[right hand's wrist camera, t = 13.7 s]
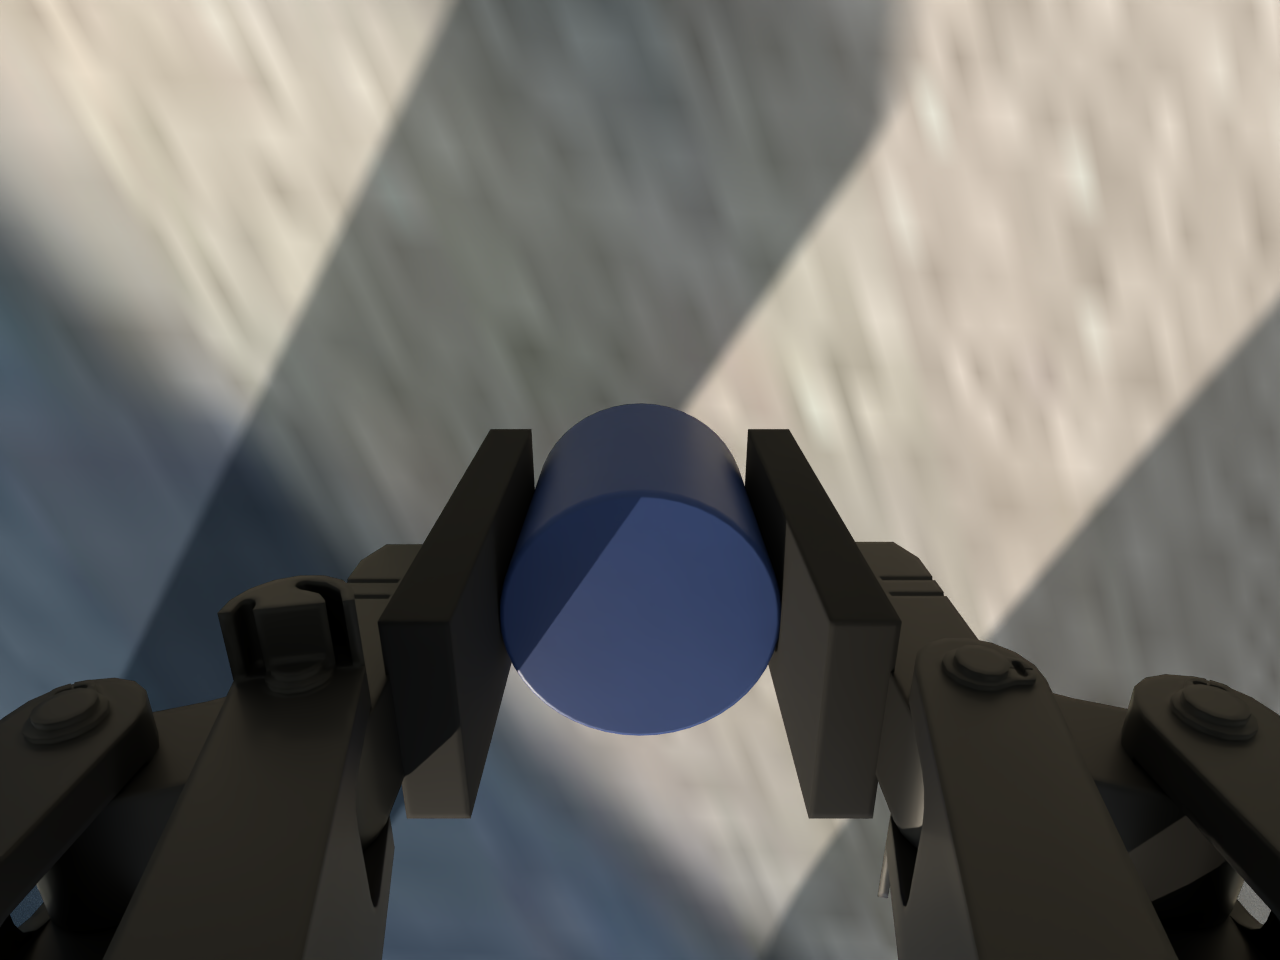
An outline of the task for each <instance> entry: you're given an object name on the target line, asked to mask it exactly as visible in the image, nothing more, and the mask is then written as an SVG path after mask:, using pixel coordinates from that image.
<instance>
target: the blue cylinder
mask: <svg viewBox="0 0 1280 960" xmlns="http://www.w3.org/2000/svg"><path fill="white" fill-rule="evenodd" d="M499 619H500V627H501V634H502V638H503V641H504V644H505V648H506V651H507V653H508V655H509V657H510V659H511V661H512V663H513V666H514V667H515V669H516V670H517V672H518V674H519V675H520V677H521V678H522V680H523V681H524V682H525V683H526V684H527V686H528V687H529V688H530V689H531V690H532V692H533V693H534V694H536V695H537V696H538V697H539V698H540V699H541V700H542V701H543V702H544V703H546V704H547V705H548V706H550V707H551V708H553V709H554V710H556V711H557V712H558V713H560V714H562V715H564V716H566V717H567V718H569V719H571V720H573V721H575V722H578V723H580V724H583V725H585V726H588V727H591V728H594V729H598V730H601V731H605V732H610V733H616V734H622V735H639V736H640V735H658V734H664V733H671V732H676V731H680V730H683V729H687V728H691V727H693V726H696V725H698V724H701V723H703V722H706V721H708V720H710V719H712V718H714V717H715V716H717V715H719V714H721V713H722V712H724V711H725V710H727V709H728V708H730V707H731V706H733V705H734V704H735V703H736V702H738V701H739V700H740V699H741V698H742V697H743V696H744V695H746V694H747V692H748V691H749V690H750V689H751V688H752V687H753V686H754V685H755V683H756V682H757V681H758V680H759V678H760V677H761V675H762V674H763V672H764V671H765V669H766V667H767V665H768V663H769V661H770V659H771V657H772V655H773V653H774V650H775V647H776V644H777V641H778V638H779V630H780V622H781V596H780V589H779V586H778V582H777V579H776V576H775V572H774V569H773V567H772V564H771V561H770V558H769V555H768V552H767V549H766V546H765V543H764V541H763V538H762V535H761V532H760V529H759V526H758V523H757V520H756V517H755V515H754V512H753V509H752V506H751V503H750V500H749V497H748V494H747V491H746V489H745V486H744V483H743V480H742V477H741V474H740V471H739V468H738V466H737V464H736V462H735V459H734V457H733V455H732V454H731V452H730V451H729V449H728V448H727V446H726V445H725V443H724V442H723V441H722V440H721V439H720V438H719V436H718V435H717V434H716V433H715V432H713V431H712V430H711V429H710V428H709V427H708V426H707V425H705V424H704V423H702V422H701V421H699V420H698V419H696V418H694V417H692V416H690V415H688V414H686V413H684V412H682V411H679V410H676V409H673V408H670V407H665V406H660V405H655V404H626V405H620V406H615V407H611V408H608V409H605V410H602V411H599V412H597V413H595V414H593V415H590V416H588V417H586V418H585V419H583V420H582V421H580V422H579V423H577V424H576V425H574V426H573V427H572V428H571V429H570V430H568V431H567V432H566V433H565V434H564V435H563V436H562V437H561V439H560V440H559V441H558V442H557V443H556V444H555V446H554V447H553V449H552V450H551V452H550V453H549V455H548V457H547V459H546V461H545V463H544V465H543V468H542V471H541V474H540V477H539V480H538V482H537V485H536V488H535V491H534V494H533V497H532V500H531V503H530V506H529V509H528V512H527V514H526V517H525V520H524V523H523V526H522V529H521V532H520V535H519V538H518V541H517V544H516V546H515V549H514V552H513V555H512V558H511V561H510V564H509V567H508V570H507V573H506V576H505V579H504V582H503V585H502V590H501V596H500V602H499Z"/></svg>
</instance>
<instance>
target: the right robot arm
mask: <svg viewBox="0 0 1280 960" xmlns="http://www.w3.org/2000/svg"><path fill="white" fill-rule="evenodd" d="M745 489H746V491H747V494H748V497H749V500H750V503H751V506H752V509H753V512H754V515H755V517H756V520H757V523H758V526H759V529H760V532H761V535H762V538H763V541H764V543H765V546H766V549H767V552H768V555H769V558H770V561H771V564H772V567H773V569H774V572H775V576H776V579H777V582H778V586H779V589H780V596H781V622H780V630H779V638H778V641H777V644H776V647H775V650H774V653H773V655H772V657H771V659H770V661H769V663H768V665H769V669H770V672H771V676H772V680H773V684H774V688H775V691H776V695H777V699H778V703H779V707H780V710H781V714H782V718H783V722H784V726H785V729H786V733H787V737H788V741H789V745H790V749H791V752H792V756H793V760H794V764H795V768H796V771H797V775H798V779H799V783H800V787H801V790H802V794H803V798H804V802H805V806H806V809H807V813H808V817H809V818H873V812H874V805H875V798H876V792H877V785H878V782H879V784H880V787H881V789H882V792H883V794H884V797H885V799H886V802H887V804H888V807H889V810H890V812H891V815H890V822H889V828H888V834H887V840H886V846H885V853H884V859H883V865H882V871H881V878H880V884H879V891H878V896H879V897H884V898H888V894H889V889H890V890H891V899H892V908H893V916H894V925H895V934H896V943H897V951H898V960H1280V716H1279V715H1278V714H1277V713H1275V712H1274V711H1272V710H1270V709H1269V708H1267V707H1266V706H1264V705H1263V704H1261V703H1260V702H1258V701H1257V700H1255V699H1253V698H1252V697H1250V696H1247V695H1245V694H1243V693H1240V692H1238V691H1236V690H1233V689H1231V688H1230V687H1228V686H1227V685H1224V684H1221V683H1218V682H1215V681H1212V680H1210V681H1207V680H1206V679H1204V678H1199V677H1193V676H1179V675H1168V674H1164V675H1159V676H1153V677H1147V678H1145V679H1143V680H1142V681H1141V682H1140V683H1138V684H1137V685H1136V686H1135V687H1134V690H1133V693H1132V696H1131V700H1130V703H1129V707H1128V709H1125V708H1120V707H1115V706H1110V705H1104V704H1099V703H1094V702H1089V701H1084V700H1079V699H1074V698H1070V697H1066V696H1062V695H1058V694H1054V693H1052V691H1051V689H1050V687H1049V684H1048V682H1047V680H1046V679H1045V678H1044V676H1043V675H1042V674H1041V673H1040V671H1039V670H1038V669H1037V668H1036V666H1035V665H1033V664H1032V663H1031V662H1029V661H1028V660H1026V659H1025V658H1023V657H1022V656H1020V655H1019V654H1017V653H1016V652H1013V651H1011V650H1008V649H1006V648H1003V647H1001V646H998V645H996V644H993V643H989V642H985V641H980V640H978V639H977V637H976V636H975V634H974V633H973V632H972V630H971V629H970V628H969V626H968V625H967V623H966V622H965V621H964V619H963V618H962V617H961V615H960V614H959V613H958V611H957V610H956V608H955V607H954V606H953V604H952V603H951V602H950V600H949V599H948V597H947V596H944V592H943V591H942V589H941V588H940V586H939V585H938V584H937V582H936V581H935V580H932V576H931V574H930V573H929V571H928V570H927V569H926V567H925V566H924V565H923V563H922V562H921V560H920V559H919V558H918V557H916V556H915V555H913V554H912V553H910V552H908V551H907V550H905V549H904V548H902V547H900V546H899V545H897V544H896V543H894V542H855V541H854V539H853V538H852V536H851V534H850V532H849V531H848V529H847V527H846V526H845V524H844V522H843V521H842V519H841V517H840V515H839V514H838V512H837V510H836V509H835V507H834V505H833V504H832V502H831V500H830V498H829V497H828V495H827V493H826V492H825V490H824V488H823V487H822V485H821V483H820V481H819V480H818V478H817V476H816V475H815V473H814V471H813V470H812V468H811V466H810V464H809V463H808V461H807V459H806V458H805V456H804V454H803V453H802V451H801V449H800V447H799V446H798V444H797V442H796V441H795V439H794V437H793V436H792V434H791V432H790V430H789V429H748V440H747V458H746V476H745ZM534 491H535V486H534V468H533V450H532V433H531V429H491V430H490V431H489V433H488V435H487V436H486V438H485V440H484V441H483V443H482V445H481V447H480V448H479V450H478V452H477V453H476V455H475V457H474V458H473V460H472V462H471V463H470V465H469V467H468V469H467V470H466V472H465V474H464V475H463V477H462V479H461V480H460V482H459V484H458V486H457V487H456V489H455V491H454V492H453V494H452V496H451V497H450V499H449V501H448V503H447V504H446V506H445V508H444V509H443V511H442V513H441V514H440V516H439V518H438V520H437V521H436V523H435V525H434V526H433V528H432V530H431V531H430V533H429V535H428V537H427V538H426V540H425V542H424V543H423V544H386V545H385V546H383V547H382V548H380V549H379V550H377V551H375V552H374V553H372V554H371V555H369V556H367V557H366V558H364V559H363V560H361V561H360V563H359V564H358V566H357V567H356V568H355V570H354V571H353V572H352V574H351V575H350V577H349V578H348V582H347V583H346V582H344V581H343V580H341V579H337V578H332V577H328V576H324V575H305V576H295V577H289V578H283V579H278V580H273V581H270V582H268V583H265V584H262V585H259V586H256V587H253V588H250V589H248V590H247V591H245V592H243V593H241V594H240V595H238V596H236V597H234V598H233V599H231V600H230V601H229V602H228V603H227V604H226V605H225V606H224V607H223V608H222V609H221V610H220V611H219V612H218V617H219V621H220V626H221V630H222V634H223V638H224V642H225V646H226V651H227V655H228V659H229V663H230V667H231V671H232V676H233V680H234V681H233V684H232V686H231V688H230V690H229V692H228V694H227V696H226V697H223V698H219V699H215V700H212V701H208V702H203V703H198V704H193V705H187V706H182V707H177V708H172V709H167V710H162V711H157V712H152V709H151V706H150V702H149V699H148V696H147V692H146V690H145V689H144V688H143V687H141V686H140V685H139V684H138V683H136V682H135V681H130V680H125V679H119V678H107V679H96V680H85V681H80V682H75V683H74V684H72V685H71V684H67V685H64V686H61V687H58V688H55V689H53V690H52V691H50V692H48V693H46V694H44V695H42V696H39V697H37V698H35V699H32V700H30V701H28V702H27V703H25V704H24V705H22V706H20V707H19V708H17V709H16V710H14V711H13V712H11V713H10V714H8V715H7V716H5V717H4V718H2V719H1V720H0V960H382V953H383V944H384V936H385V927H386V918H387V909H388V901H389V892H390V883H391V874H392V866H393V857H394V841H393V834H392V828H391V822H390V812H391V810H392V807H393V804H394V802H395V799H396V797H397V794H398V792H399V789H400V787H401V784H402V789H403V795H404V802H405V809H406V815H407V818H471V815H472V811H473V807H474V803H475V800H476V796H477V792H478V788H479V784H480V781H481V777H482V773H483V769H484V765H485V762H486V758H487V754H488V750H489V746H490V743H491V739H492V735H493V731H494V727H495V724H496V720H497V716H498V712H499V708H500V705H501V701H502V697H503V693H504V689H505V686H506V682H507V678H508V674H509V670H510V667H511V663H512V661H511V659H510V657H509V655H508V653H507V651H506V648H505V644H504V641H503V638H502V634H501V627H500V619H499V602H500V596H501V590H502V585H503V582H504V579H505V576H506V573H507V570H508V567H509V564H510V561H511V558H512V555H513V552H514V549H515V546H516V544H517V541H518V538H519V535H520V532H521V529H522V526H523V523H524V520H525V517H526V514H527V512H528V509H529V506H530V503H531V500H532V497H533V494H534ZM1244 880H1245V882H1246V883H1247V884H1248V885H1249V886H1250V887H1251V888H1252V889H1253V890H1254V892H1255V893H1256V894H1257V895H1258V896H1259V897H1260V898H1261V899H1262V900H1263V902H1264V903H1265V904H1266V905H1267V906H1268V907H1269V908H1270V909H1271V912H1270V914H1269V917H1268V919H1267V921H1266V922H1265V924H1264V925H1262V924H1260V923H1259V922H1258V921H1257V920H1256V919H1255V918H1254V917H1253V916H1252V915H1250V914H1249V913H1248V911H1247V910H1246V909H1245V908H1244V907H1243V906H1242V904H1241V903H1240V902H1239V901H1238V900H1237V897H1238V895H1239V892H1240V890H1241V887H1242V885H1243V882H1244ZM36 884H37V887H38V889H39V892H40V894H41V897H42V899H43V904H42V905H41V906H40V907H39V908H38V909H37V911H36V912H35V913H34V914H33V915H32V916H31V917H30V918H29V919H28V920H27V921H25V922H24V923H23V924H22V925H21V926H19V927H18V928H17V927H16V926H15V925H14V923H13V921H12V919H11V916H10V913H11V912H12V911H13V910H14V909H15V908H16V907H17V906H18V904H19V903H20V902H21V901H22V900H23V899H24V898H25V897H26V895H27V894H28V893H29V892H30V891H31V890H32V889H33V888H34V887H35V885H36Z"/></svg>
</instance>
